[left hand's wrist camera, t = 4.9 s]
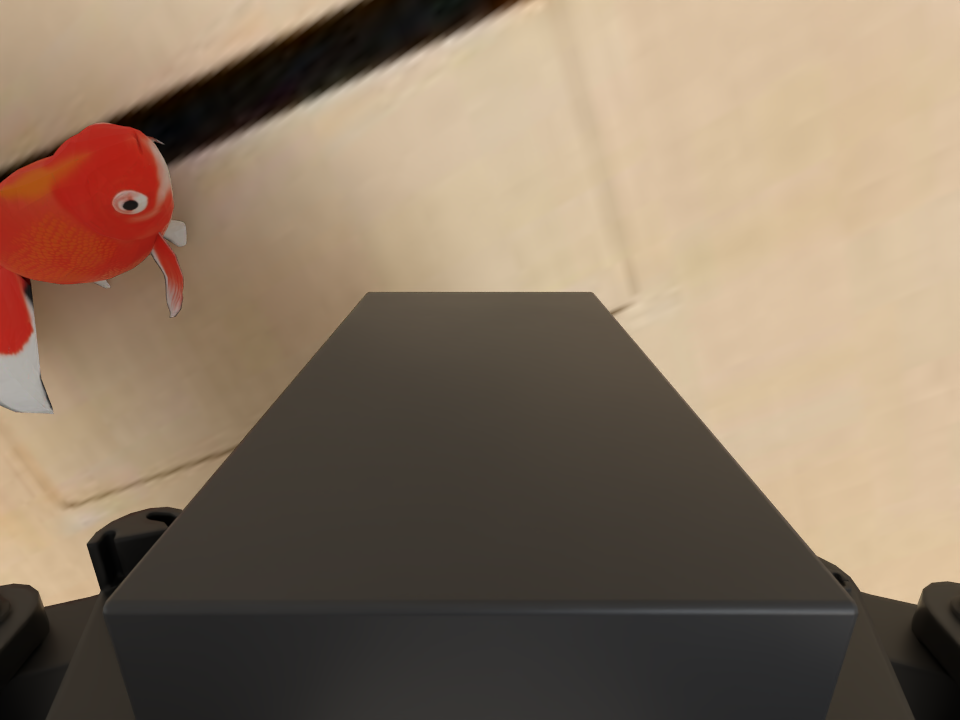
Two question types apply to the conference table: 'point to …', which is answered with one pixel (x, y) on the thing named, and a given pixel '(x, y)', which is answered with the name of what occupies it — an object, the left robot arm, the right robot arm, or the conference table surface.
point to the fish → (79, 237)
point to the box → (480, 541)
